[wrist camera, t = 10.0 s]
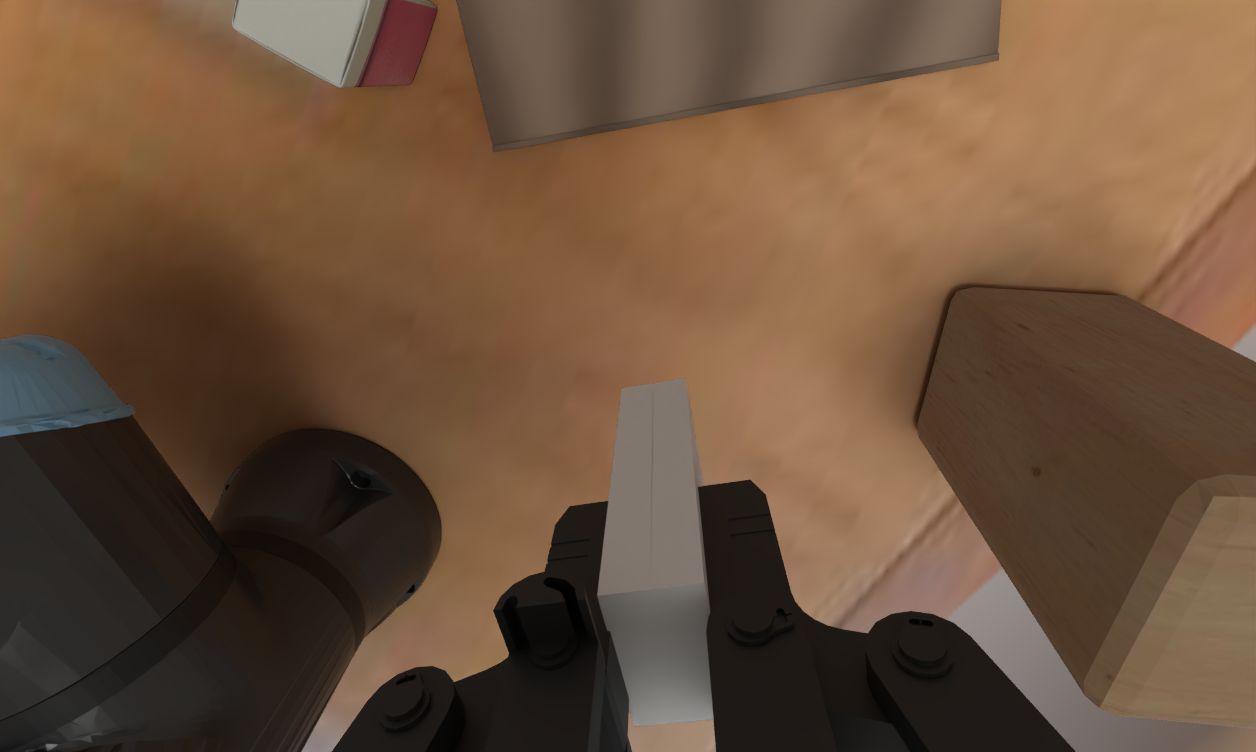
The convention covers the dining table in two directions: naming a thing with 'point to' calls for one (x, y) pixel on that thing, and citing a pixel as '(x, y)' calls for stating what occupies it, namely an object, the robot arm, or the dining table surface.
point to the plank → (698, 56)
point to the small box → (342, 36)
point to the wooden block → (1110, 490)
